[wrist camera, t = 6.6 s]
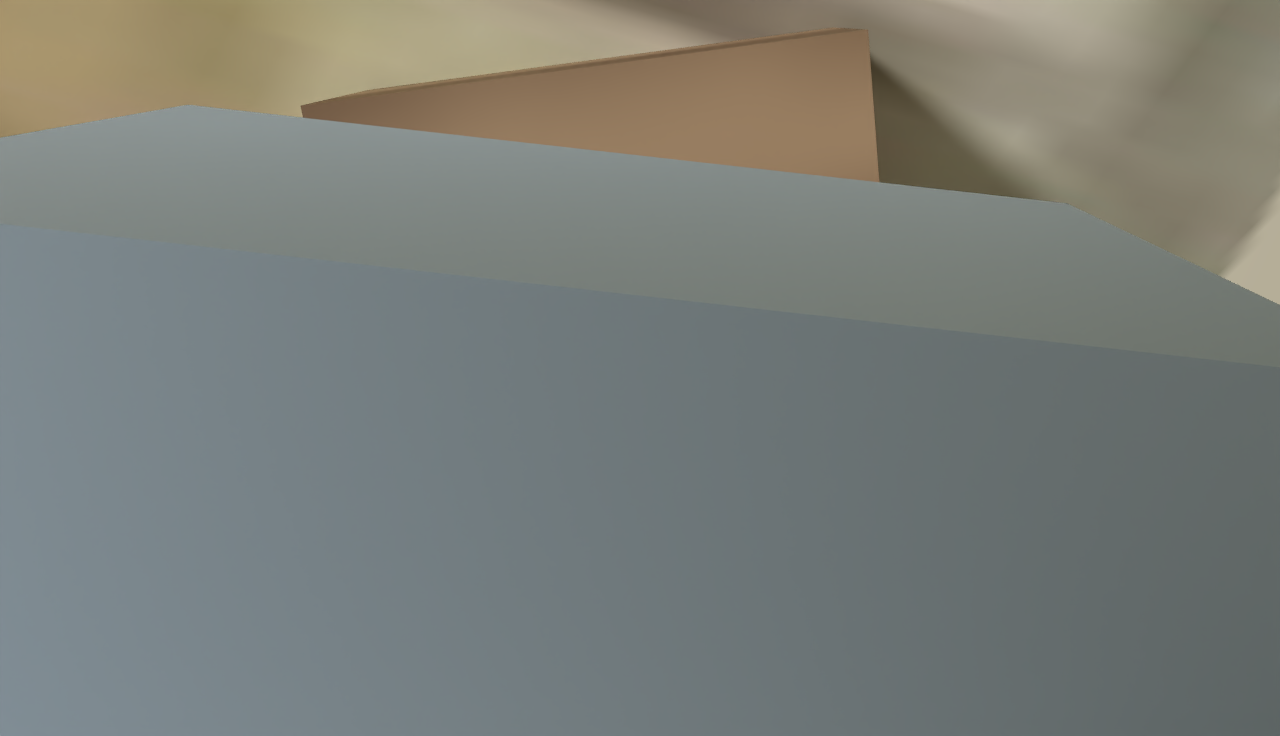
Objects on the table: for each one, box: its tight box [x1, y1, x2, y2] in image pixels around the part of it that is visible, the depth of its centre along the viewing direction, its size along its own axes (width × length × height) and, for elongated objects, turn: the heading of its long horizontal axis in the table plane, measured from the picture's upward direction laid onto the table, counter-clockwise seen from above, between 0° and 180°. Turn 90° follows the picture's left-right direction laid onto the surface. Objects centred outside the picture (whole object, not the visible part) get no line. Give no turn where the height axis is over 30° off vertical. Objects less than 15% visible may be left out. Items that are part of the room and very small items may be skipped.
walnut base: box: [301, 28, 879, 182], centre depth 29 cm, size 12×12×6 cm
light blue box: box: [0, 105, 1280, 736], centre depth 12 cm, size 10×10×7 cm
